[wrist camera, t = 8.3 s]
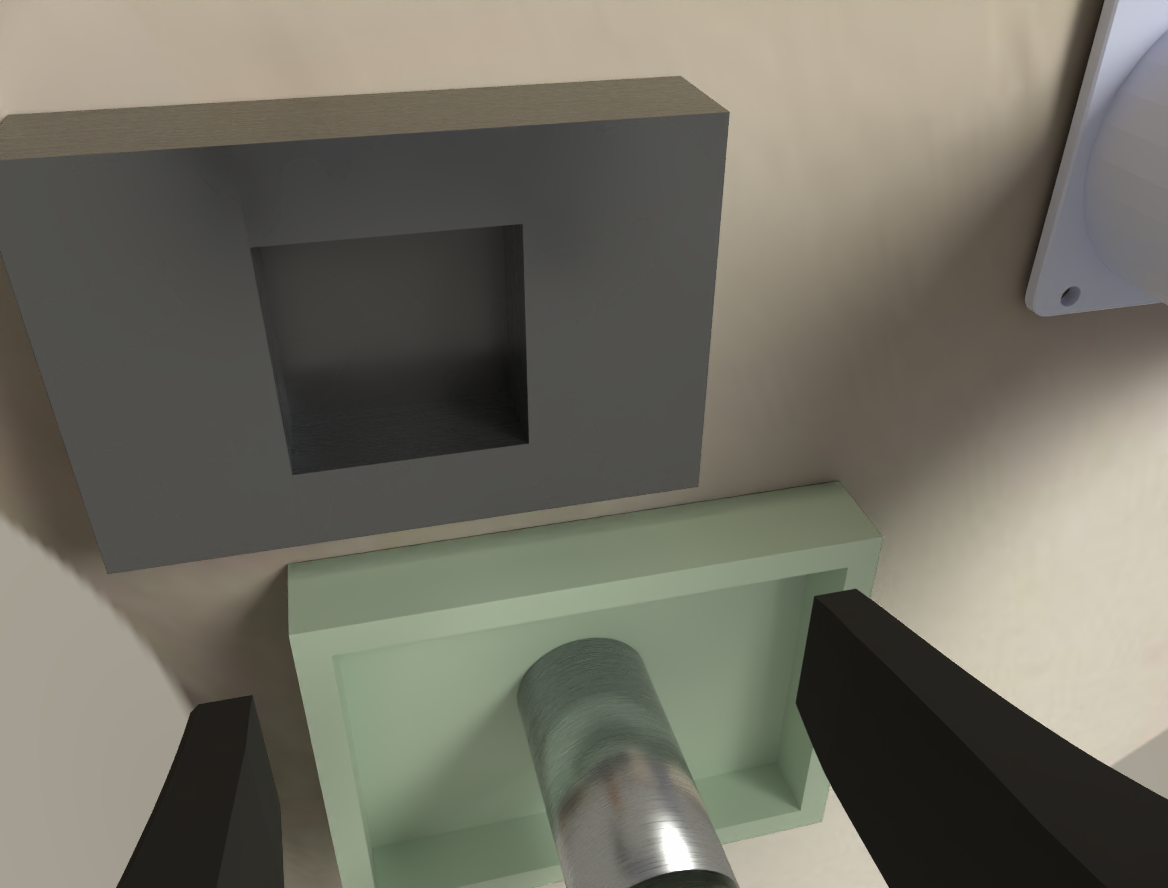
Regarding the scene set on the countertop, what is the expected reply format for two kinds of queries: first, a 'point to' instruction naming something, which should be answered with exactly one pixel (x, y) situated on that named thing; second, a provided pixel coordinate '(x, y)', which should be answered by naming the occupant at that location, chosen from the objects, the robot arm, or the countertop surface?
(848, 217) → the countertop surface
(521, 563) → the tray
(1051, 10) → the countertop surface
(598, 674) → the pin
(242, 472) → the hitch block
